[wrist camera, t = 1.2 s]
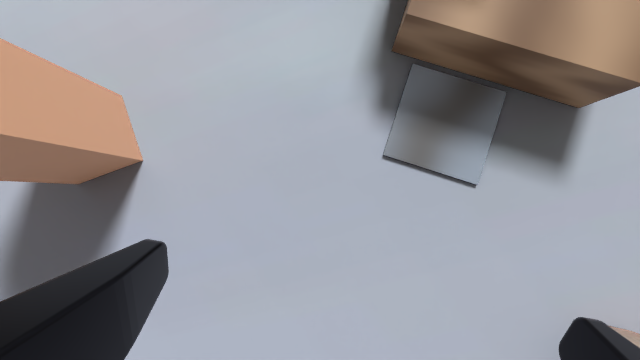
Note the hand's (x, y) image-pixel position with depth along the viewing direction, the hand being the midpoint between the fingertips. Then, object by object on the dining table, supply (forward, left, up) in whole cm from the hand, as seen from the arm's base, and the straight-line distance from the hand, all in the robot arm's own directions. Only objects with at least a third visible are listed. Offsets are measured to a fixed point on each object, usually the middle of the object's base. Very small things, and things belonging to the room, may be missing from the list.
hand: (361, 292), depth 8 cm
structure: (+13, +5, -14) cm, 20 cm away
